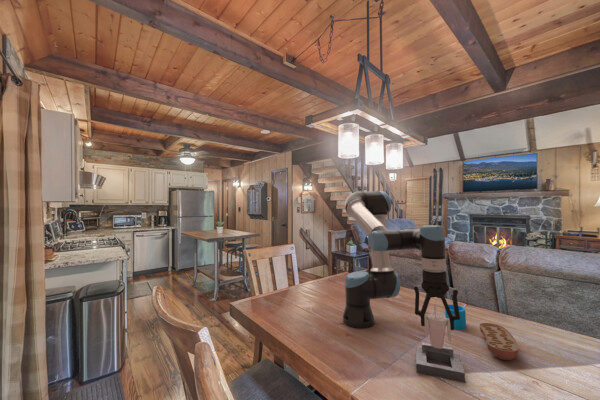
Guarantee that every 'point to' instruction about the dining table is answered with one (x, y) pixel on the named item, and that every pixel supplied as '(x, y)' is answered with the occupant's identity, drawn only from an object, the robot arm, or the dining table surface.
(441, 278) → the robot arm
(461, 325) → the mug
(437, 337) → the smoothie
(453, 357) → the jig
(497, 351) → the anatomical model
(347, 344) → the dining table surface
